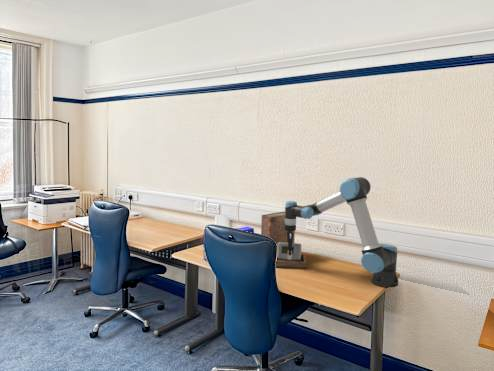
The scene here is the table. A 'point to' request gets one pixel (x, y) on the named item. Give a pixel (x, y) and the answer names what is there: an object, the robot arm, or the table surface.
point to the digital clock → (283, 252)
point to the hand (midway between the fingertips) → (289, 257)
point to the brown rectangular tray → (292, 263)
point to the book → (275, 227)
